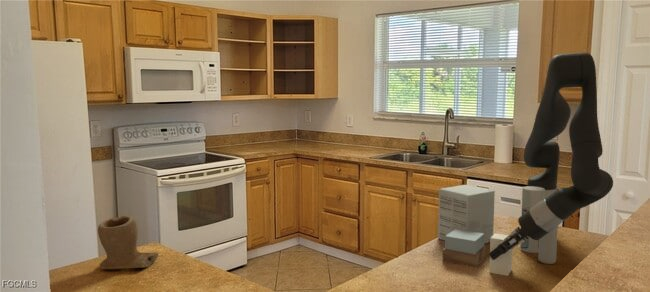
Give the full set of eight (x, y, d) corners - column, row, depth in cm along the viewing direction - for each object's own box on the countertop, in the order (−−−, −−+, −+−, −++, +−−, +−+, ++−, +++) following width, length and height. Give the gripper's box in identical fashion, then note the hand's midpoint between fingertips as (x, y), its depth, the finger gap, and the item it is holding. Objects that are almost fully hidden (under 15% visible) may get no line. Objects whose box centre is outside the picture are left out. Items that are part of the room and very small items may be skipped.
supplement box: (463, 232, 181) (464, 184, 179) (493, 241, 170) (495, 190, 168) (436, 238, 174) (438, 188, 172) (466, 248, 163) (468, 195, 161)
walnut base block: (453, 252, 160) (453, 240, 160) (485, 258, 155) (485, 245, 154) (442, 262, 152) (442, 249, 151) (476, 268, 146) (476, 255, 146)
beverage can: (557, 265, 148) (559, 225, 146) (540, 264, 149) (541, 224, 147) (553, 259, 152) (555, 220, 151) (536, 258, 153) (538, 219, 152)
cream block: (493, 267, 146) (494, 233, 145) (511, 270, 144) (513, 236, 142) (489, 272, 142) (490, 237, 141) (507, 275, 139) (509, 240, 138)
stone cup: (91, 275, 141) (88, 223, 140) (109, 260, 153) (106, 212, 151) (146, 275, 142) (143, 222, 140) (159, 260, 153) (157, 212, 152)
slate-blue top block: (455, 241, 159) (455, 228, 158) (484, 246, 154) (484, 233, 153) (444, 249, 151) (445, 236, 151) (474, 254, 146) (475, 241, 146)
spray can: (517, 246, 165) (520, 185, 162) (539, 247, 164) (541, 186, 161) (522, 252, 158) (525, 190, 156) (544, 253, 157) (547, 190, 155)
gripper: (538, 203, 142) (493, 237, 150) (523, 213, 130) (476, 249, 139) (557, 224, 139) (511, 258, 148) (544, 237, 128) (495, 272, 136)
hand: (494, 253), depth 143 cm, fingers closed on cream block, 5 cm apart
